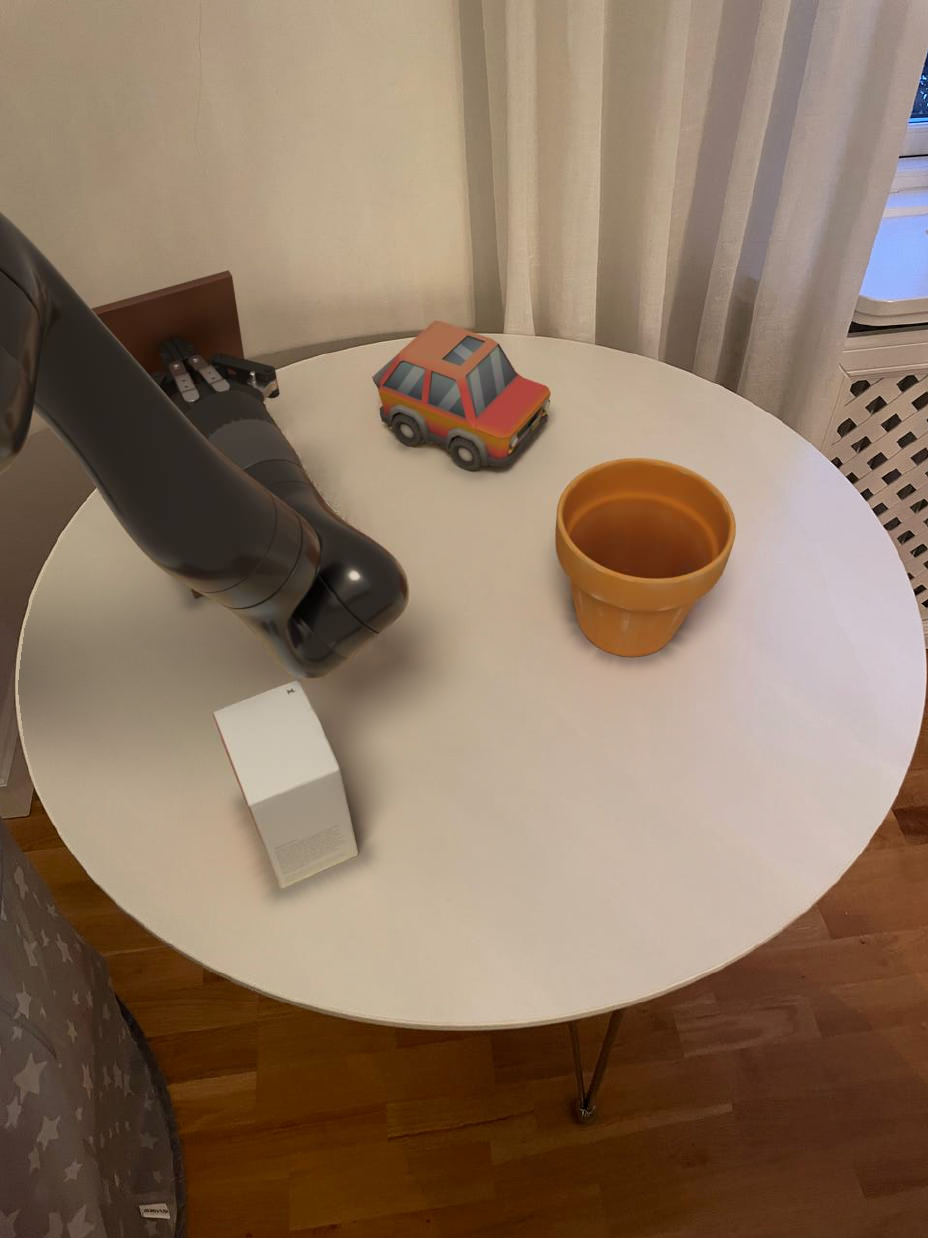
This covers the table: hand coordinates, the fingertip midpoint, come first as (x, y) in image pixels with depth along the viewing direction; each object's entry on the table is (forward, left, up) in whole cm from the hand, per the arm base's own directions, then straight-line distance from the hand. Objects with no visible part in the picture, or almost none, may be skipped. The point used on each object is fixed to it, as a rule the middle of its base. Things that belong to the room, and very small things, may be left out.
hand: (172, 347), depth 81 cm
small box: (+7, -39, -18) cm, 43 cm away
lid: (0, 0, -2) cm, 2 cm away
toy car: (+27, +6, -18) cm, 33 cm away
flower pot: (+37, -23, -18) cm, 47 cm away
